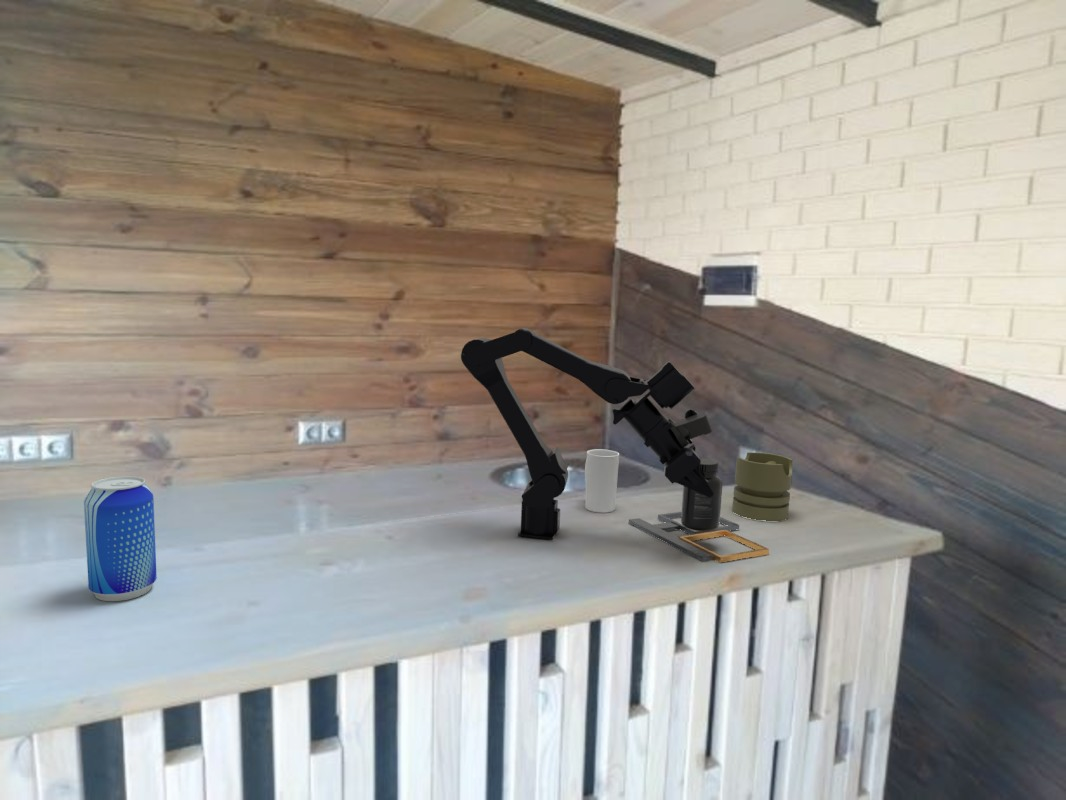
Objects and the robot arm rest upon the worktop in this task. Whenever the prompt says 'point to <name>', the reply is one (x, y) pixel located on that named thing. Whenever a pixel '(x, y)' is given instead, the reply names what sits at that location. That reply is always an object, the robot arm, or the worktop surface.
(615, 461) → the mug
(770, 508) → the piston
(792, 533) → the worktop surface
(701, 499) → the supplement bottle
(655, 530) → the silver gold metal frame
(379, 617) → the worktop surface
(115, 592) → the beer can
